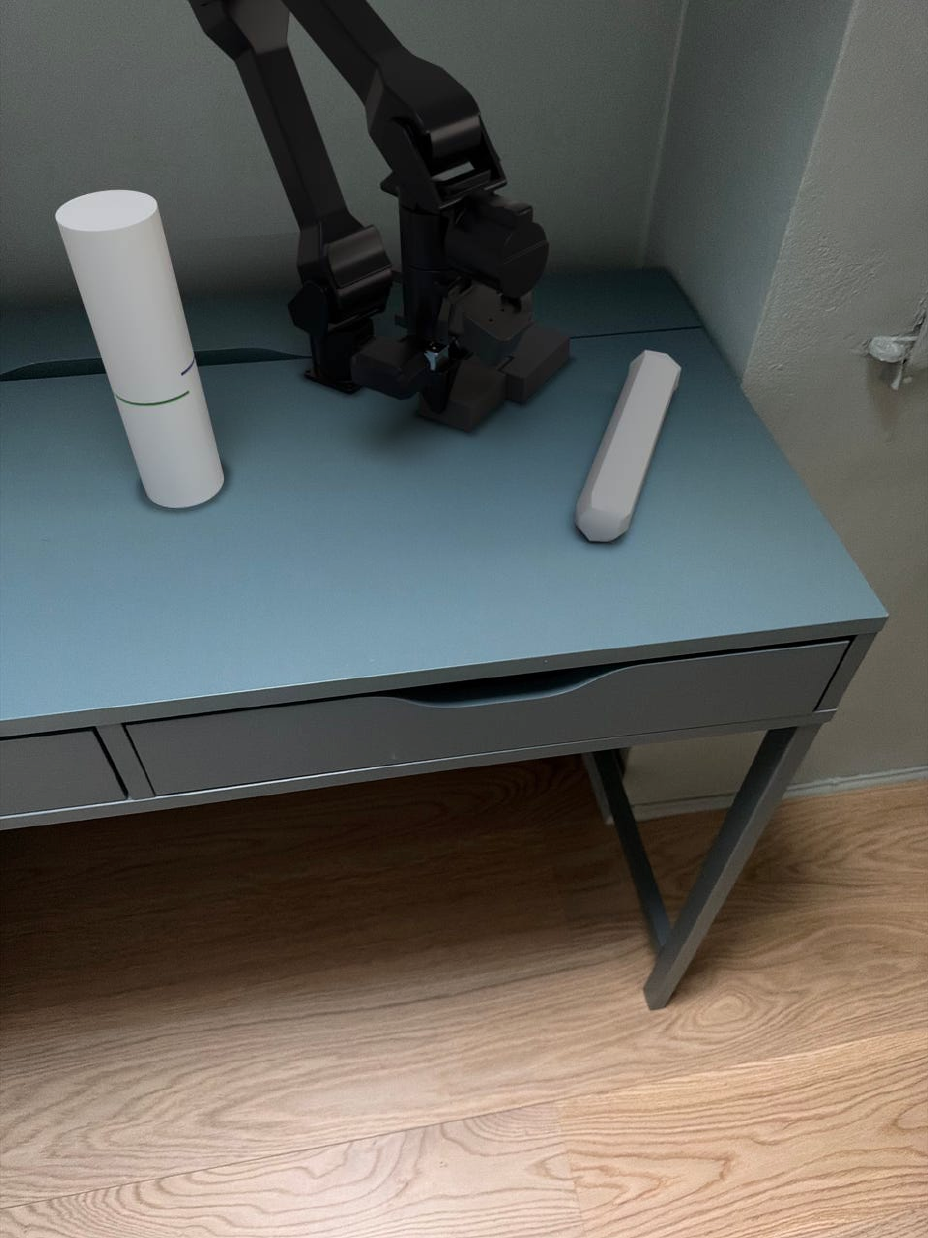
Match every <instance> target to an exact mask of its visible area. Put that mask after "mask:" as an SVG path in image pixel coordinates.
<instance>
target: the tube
mask: <svg viewBox="0 0 928 1238" xmlns="http://www.w3.org/2000/svg"><path fill="white" fill-rule="evenodd" d="M681 371H682V367H681V366H680V365H679V364H678V363H677V362H676V361H675V360H674V359H673V358H672V357H671V356H669V354H668V353H665V352H659V351H654V350H649V349H645V350H643V351H642V352H641V353H640V354H638V356H636V357H635V358H634V359H633V360H632V361H631V362H630V364H629V369H628V375H627V377H626V380H625V382H624V385H623V387H622V389H621V393H620V395H619V397H618V400H617V403H616V405H615V407H614V410H613V412H612V415H611V417H610V420H609V423H608V425H607V428H606V430H605V433H604V435H603V437H602V440H601V442H600V444H599V447H598V450H597V452H596V455H595V457H594V460H593V463H592V465H591V468H590V470H589V473H588V474H587V477H586V480H585V483H584V485H583V487H582V489H581V492H580V495H579V498H578V499H577V503H576V507H575V514H574V515H575V516H574V523H575V525H576V526H577V527H578V529H579V530H580V531H581V532H582V534H584V536H585V537H586V538H587V540H589V542H612V541H613V540H615V539H616V538H618V537H619V536H621V535H622V534H624V533H625V532H627V531H628V529H629V527H630V523H631V521H632V517H633V515H634V512H635V509H636V506H637V502H638V499H639V497H640V493H641V490H642V487H643V485H644V481H645V479H646V475H647V472H648V470H649V469H648V468H649V466H650V463H651V461H652V457H653V454H654V451H655V448H656V445H657V442H658V439H659V436H660V433H661V430H662V427H663V424H664V422H665V418H666V415H667V412H668V408H669V406H670V403H671V401H672V397H673V393H674V391H676V390H677V389H678V386H679V381H680V377H681Z"/></svg>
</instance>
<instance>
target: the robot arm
mask: <svg viewBox="0 0 928 1238" xmlns="http://www.w3.org/2000/svg"><path fill="white" fill-rule="evenodd" d="M186 1H187V2H188V3H189V6H190V8H191V9H192V11H193V13H194V15H195V18H196V20H197V22H198V23H199V26H200V29H201V30H202V32H203V33H204V35H205V36H206V37H207V38H208V39H209V40H211V41H212V42H213V43H214V44H215V46H217V47H218V48H219V50H221V51H222V52H223V53H224V54H225V55H227V56H228V57H229V58H230V59H231V60H232V61H233V63H234V64H235V67H236V69H237V72H238V74H239V77H240V80H241V83H242V85H243V87H244V89H245V92H246V95H247V97H248V100H249V102H250V105H251V108H252V110H253V113H254V116H255V118H256V120H257V123H258V126H259V128H260V131H261V133H262V136H263V138H264V141H265V143H266V146H267V149H268V151H269V153H270V157H271V159H272V162H273V164H274V167H275V169H276V172H277V174H278V177H279V180H280V183H281V185H282V187H283V190H284V193H285V195H286V197H287V200H288V203H289V205H290V208H291V211H292V213H293V215H294V218H295V221H296V223H297V227H298V230H299V235H298V236H299V237H298V246H297V255H296V261H295V262H296V263H295V264H296V265H295V266H296V269H297V273H298V276H299V279H300V282H301V285H302V286H301V287H300V289H299V290H298V291H297V292H296V293H295V294H294V295H293V297H292V298H291V299H290V301H289V302H288V303H287V305H286V308H287V311H288V313H289V316H290V318H291V319H290V320H291V322H292V325H293V326H294V327H296V328H297V329H299V330H301V331H303V332H305V333H306V334H308V337H309V346H310V352H311V359H312V365H311V366H309V367H308V368H306V369H305V370H304V371H303V374H304V377H305V378H307V379H310V380H313V381H315V382H318V383H320V384H322V385H326V386H328V387H331V388H334V389H336V390H339V391H342V392H344V393H347V394H353V393H355V392H356V391H357V390H359V389H360V388H361V387H364V388H365V389H368V390H371V391H374V392H377V393H380V394H382V395H385V396H386V397H387V396H388V397H390V398H393V399H396V400H398V401H408V400H411V399H413V397H414V396H415V395H417V394H419V391H420V393H421V394H422V396H423V398H424V399H425V401H426V403H427V404H428V406H429V408H430V409H431V411H432V412H434V413H436V414H439V415H440V414H442V413H443V412H444V411H445V410H446V406H447V403H448V400H449V397H450V394H451V391H452V388H453V385H454V382H455V379H456V376H457V373H458V370H459V367H460V365H461V362H462V360H463V359H464V358H465V357H466V356H468V355H469V354H470V353H471V352H472V353H473V354H475V355H476V356H477V357H479V359H480V361H481V362H483V363H484V364H486V365H488V366H491V367H495V366H498V365H499V364H501V363H502V361H503V360H504V359H505V358H506V357H507V356H509V355H510V354H511V353H513V352H514V351H515V350H516V349H517V347H518V344H519V342H520V340H521V338H522V336H523V333H524V331H526V330H527V329H528V328H529V327H530V326H531V325H532V324H534V321H533V319H532V316H533V313H532V310H533V304H532V290H533V288H535V286H536V285H537V284H538V282H539V281H540V279H541V277H542V275H543V274H544V271H545V269H546V266H547V262H548V259H549V252H550V243H549V241H548V240H547V234H546V231H545V229H544V228H543V226H542V225H541V224H540V223H538V222H535V221H534V207H533V206H532V204H530V203H527V202H524V201H523V200H522V201H521V200H513V199H510V198H507V197H505V196H503V195H500V194H496V193H495V191H497V190H499V189H500V190H501V189H502V188H504V187H506V186H507V185H508V178H507V176H506V174H505V171H504V169H503V166H502V164H501V161H502V160H501V158H500V156H499V153H497V151H496V149H495V147H494V144H493V143H492V142H493V141H492V140H491V137H490V135H489V133H488V130H487V128H486V126H485V125H486V124H485V123H484V121H483V118H482V112H481V109H480V107H479V105H478V102H477V101H476V99H475V98H474V96H473V94H472V93H471V92H470V91H469V90H468V89H467V88H466V87H465V86H464V85H462V83H460V82H459V81H458V80H457V79H456V78H454V77H453V76H452V75H451V74H450V73H449V72H448V71H447V70H446V69H444V68H443V67H441V66H440V65H438V64H435V63H433V62H430V61H428V60H425V59H423V58H421V57H419V56H417V55H415V54H413V53H412V52H411V51H410V50H409V49H408V48H407V47H405V46H404V44H403V43H402V42H401V41H400V40H399V39H398V37H397V36H396V35H395V34H394V32H393V31H392V30H391V29H390V28H389V26H388V25H387V24H386V23H385V22H384V20H383V19H382V17H380V15H379V14H378V13H377V12H376V10H375V9H374V8H373V7H372V6H371V4H370V3H369V2H368V1H367V0H186ZM290 15H292V16H293V17H294V18H295V20H296V21H297V22H298V24H299V25H300V26H301V27H302V28H303V29H304V31H305V32H306V33H307V35H309V37H310V38H311V39H312V41H313V42H314V43H315V44H316V46H318V48H319V49H320V51H321V52H322V53H323V54H324V56H325V57H326V58H327V59H328V60H329V62H330V63H331V64H332V66H333V67H334V68H335V69H336V71H337V72H338V73H339V74H340V75H341V76H342V78H343V79H344V80H345V82H346V83H347V84H348V85H349V86H350V87H351V89H352V90H353V91H354V92H355V94H356V95H357V97H358V99H359V100H360V101H361V103H362V105H363V107H364V110H365V111H364V112H365V118H366V126H367V133H368V136H369V137H370V139H371V140H372V142H373V143H374V145H375V147H376V148H377V150H378V152H379V153H380V155H381V156H382V158H383V159H384V161H385V163H386V165H387V166H388V167H389V169H390V170H391V172H390V173H389V174H388V175H387V176H386V177H385V178H384V179H383V180H381V181H380V182H379V188H380V190H381V191H382V192H384V193H387V194H389V195H391V196H393V197H395V198H397V200H398V201H397V203H398V221H399V222H398V223H399V240H400V262H401V263H400V264H398V265H397V266H395V267H394V268H392V267H393V264H392V262H391V260H390V258H389V257H388V255H387V252H386V249H385V247H384V243H383V241H382V240H383V239H382V236H381V232H380V230H379V229H378V228H377V226H376V225H375V224H373V223H371V224H369V225H367V226H365V224H363V223H362V222H361V221H360V220H359V219H358V218H357V217H356V216H354V214H352V213H351V212H350V210H349V208H348V205H347V203H346V199H345V197H344V194H343V191H342V189H341V186H340V183H339V180H338V177H337V175H336V173H335V170H334V167H333V164H332V160H331V159H330V156H329V153H328V150H327V148H326V144H325V142H324V140H323V137H322V134H321V131H320V128H319V125H318V123H317V120H316V117H315V114H314V112H313V108H312V106H311V103H310V100H309V98H308V95H307V92H306V89H305V87H304V84H303V82H302V81H303V80H302V78H301V76H300V73H299V70H298V68H297V64H296V62H295V59H294V56H293V54H292V51H291V48H290V44H289V41H288V36H289V35H288V34H289V25H290ZM468 163H469V164H470V165H471V167H472V168H473V169H470V170H467V171H465V172H462V173H460V174H458V175H455V176H453V177H450V178H447V179H445V178H443V177H440V176H438V175H442V174H444V173H447V172H449V171H452V170H454V169H456V168H460V167H462V166H464V165H467V164H468ZM391 268H392V269H391ZM394 283H396V284H401V285H402V301H403V307H402V308H401V309H400V310H398V311H397V312H396V313H395V314H394V315H393V316H394V325H395V326H398V327H400V328H403V329H406V331H407V334H405V335H404V336H403V337H401V338H400V339H398V340H394V339H392V338H388V337H385V336H382V335H380V336H378V337H377V335H375V327H374V319H373V318H372V317H374V316H376V315H378V314H382V313H385V312H386V308H387V305H388V301H389V300H388V299H389V298H390V294H391V288H393V287H394Z"/></svg>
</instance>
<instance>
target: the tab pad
mask: <svg viewBox="0 0 928 1238" xmlns="http://www.w3.org/2000/svg"><path fill="white" fill-rule="evenodd" d="M508 363H510V358H508V357H506V358H505V359H504V360H503V361H502V363H501V364H499V365H498V366H495V367H491V366H488V365H486V364H484V363H483V362H481V361H480V359H479V357H477V356H476V355H475V354H473V355H472V356H471V357H470V358H469V359H467V360H464V359H463V360H462V362H461V365H460V367H459V370H458V373H457V376H456V379H455V382H454V385H453V388H452V391H451V394H450V397H449V400H448V403H447V406H446V410H445V411H444V412H443V413H442V414H440V415H439V414H436V413H434V412H432V411H431V409H430V408H429V406H428V404H427V403H426V401H425V399H424V398H423V396H422V394H421V393H420V391H419V392H418V411H419V415H421V416H423V417H426V418H429V419H432V420H434V421H436V422H439V423H442V424H445V425H447V426H450V427H453V428H455V429H458V430H461V431H463V432H467V433H471V432H472V431H473V430H474V429H475V428H476V427H477V426H479V424H481V422H482V421H484V419H486V418H487V417H488V416H489V415H490V414H491V413H493V411H494V410H496V408H498V406H500V405H501V404H502V403H503V402H504V401H505V400H506V398H505V392H506V374H505V373H502V372H500V371H501V370H502V369H503V368H504V367H505V366H506V365H507V364H508Z"/></svg>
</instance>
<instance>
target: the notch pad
mask: <svg viewBox="0 0 928 1238" xmlns="http://www.w3.org/2000/svg"><path fill="white" fill-rule="evenodd" d="M571 338H572V336H571V334H567V333H565V332H562V331H558V330H556V329H552V328H550V327H549V328H548V327H547V326H542V325H540V324H536V323H533V324H532V325H531V326H530V327H529V328H528V329H527V330H526V331H524V333H523V336H522V338H521V340H520V342H519V344H518V347H517V349H516V350H515V351H514V352H513V353H511V354H510V355H509V356H507V357H508V358H510V363H508V364H507V365H506V366H505V367H504V368H503V369H502V370H501V371H500V372H502V373H505V374H506V392H505V399H508V400H510V401H512V402H516V403H519V404H521V405H524V404H525V403H526V402H527V401H528V400H529V399H530V398H531V397H532V396H533V395H534V394H535V393H536V392H537V391H538V390H539V389H540V388H541V387H542V386H543V385H544V384H545V383H546V382H548V381H549V379H550V378H551V377H553V376H554V374H555V373H557V372H558V371H559V370H560V369H561V368H562V367H563V366H564V365H565V364H566V363H568V361H569V359H570V358H569V357H570V348H571ZM472 355H473V353H472V352H471V353H470V354H469V355H468V356H466V357H465V358H464V360H467V359H469V358H470V357H471V356H472Z"/></svg>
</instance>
